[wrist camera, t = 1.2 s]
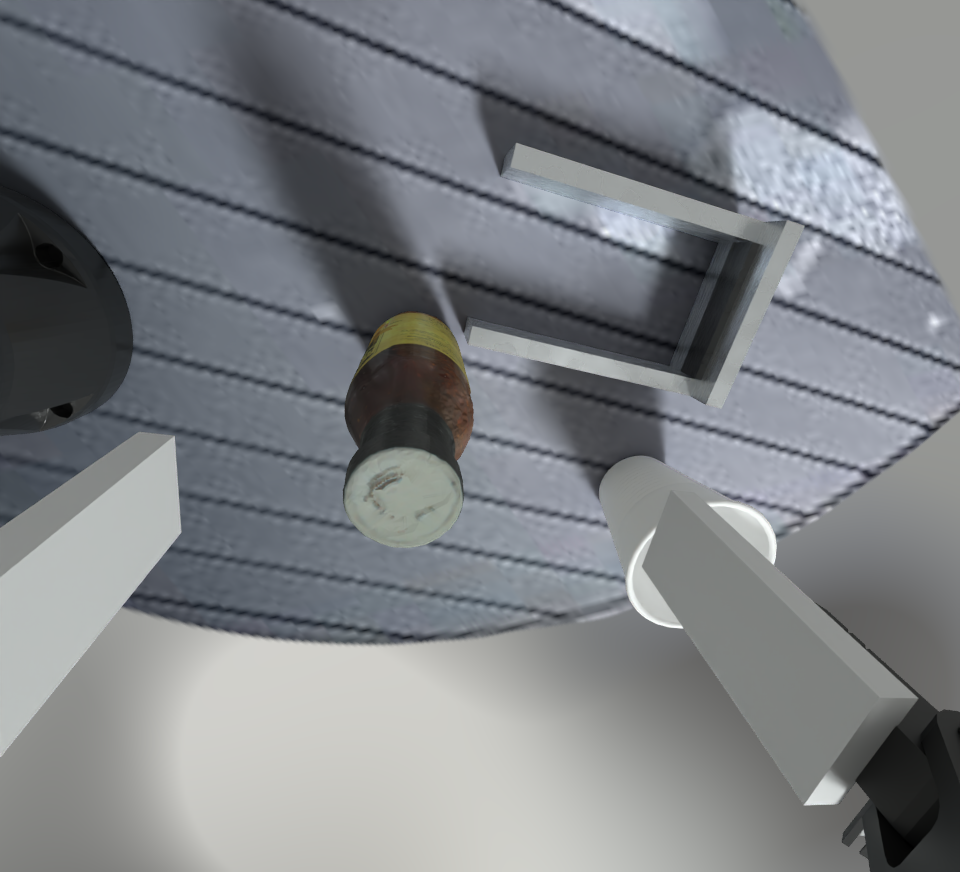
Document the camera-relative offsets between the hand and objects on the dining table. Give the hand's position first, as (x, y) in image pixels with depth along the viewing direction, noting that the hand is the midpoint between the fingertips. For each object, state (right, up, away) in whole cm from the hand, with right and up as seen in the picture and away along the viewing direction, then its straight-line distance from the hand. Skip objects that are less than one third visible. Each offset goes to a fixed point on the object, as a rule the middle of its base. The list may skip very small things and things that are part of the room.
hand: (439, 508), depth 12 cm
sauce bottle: (-3, +8, +21) cm, 23 cm away
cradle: (+9, +13, +20) cm, 26 cm away
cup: (+14, -2, +27) cm, 31 cm away
